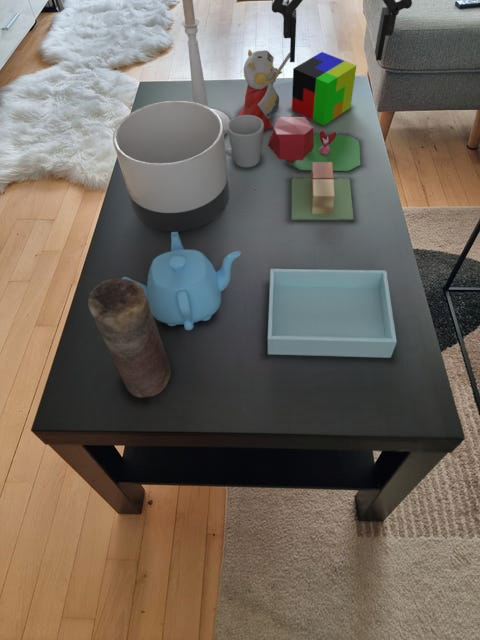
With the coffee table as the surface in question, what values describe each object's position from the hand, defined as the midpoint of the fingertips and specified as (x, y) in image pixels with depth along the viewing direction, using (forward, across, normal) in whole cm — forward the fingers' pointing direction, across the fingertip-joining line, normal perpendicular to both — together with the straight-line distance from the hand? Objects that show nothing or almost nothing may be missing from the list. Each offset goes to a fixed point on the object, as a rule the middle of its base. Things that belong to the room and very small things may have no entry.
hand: (334, 57), depth 77 cm
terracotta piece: (+26, 0, 0) cm, 26 cm away
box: (+27, 0, +33) cm, 42 cm away
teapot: (+27, +24, +30) cm, 47 cm away
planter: (+27, +28, +6) cm, 39 cm away
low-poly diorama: (+27, +1, -12) cm, 29 cm away
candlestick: (+27, +27, -23) cm, 45 cm away
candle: (+27, +28, +45) cm, 59 cm away
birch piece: (+26, 0, +5) cm, 27 cm away
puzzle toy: (+27, -1, -30) cm, 40 cm away
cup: (+27, +17, -10) cm, 33 cm away
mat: (+27, 0, +3) cm, 27 cm away
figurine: (+27, +13, -27) cm, 40 cm away
